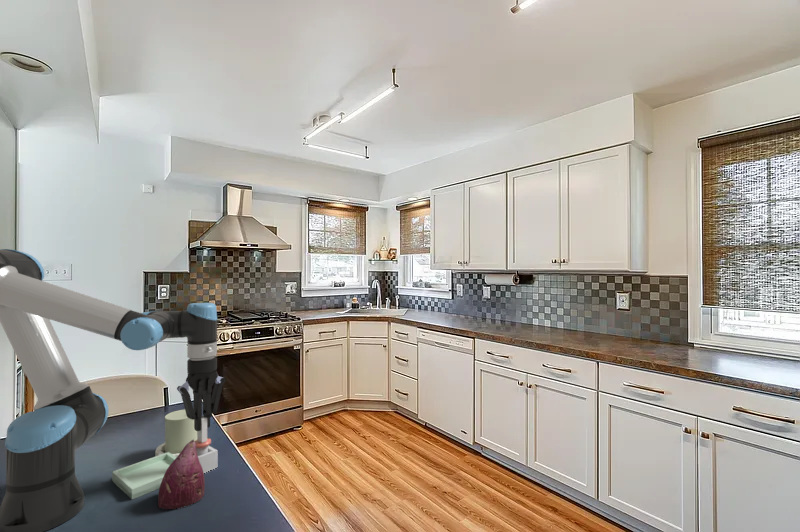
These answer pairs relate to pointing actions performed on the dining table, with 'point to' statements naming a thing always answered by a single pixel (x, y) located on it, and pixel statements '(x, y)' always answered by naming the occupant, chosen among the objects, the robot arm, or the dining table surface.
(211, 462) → the button post
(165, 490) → the vegetable
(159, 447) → the socket ring
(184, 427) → the can
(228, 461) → the dining table surface
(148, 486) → the tray
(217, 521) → the dining table surface
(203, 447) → the button
